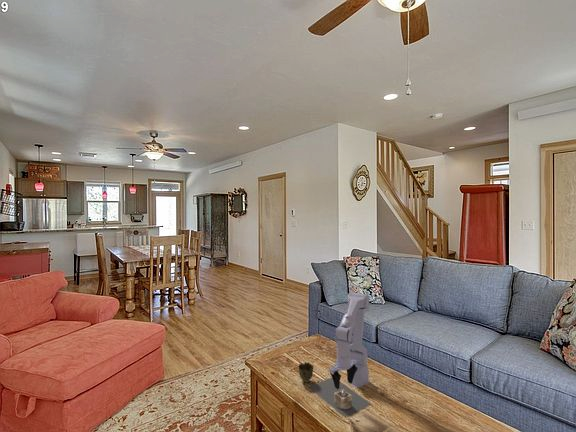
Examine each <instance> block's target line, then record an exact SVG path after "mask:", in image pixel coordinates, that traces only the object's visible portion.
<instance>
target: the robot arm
mask: <svg viewBox="0 0 576 432" xmlns="http://www.w3.org/2000/svg"><path fill="white" fill-rule="evenodd" d="M347 305H348V308H347V312H346V313H345V314H344V315H342V319H341V321H340V324H339V326H337V327H336V328H335V331H334V339H335V344H336V363H335V364H334V365H332V366H331V367H329V368H328V369H329V371H328V372H329V374H330V376H331V378H333V381H334V385H335V388H337V389H339V386H340V382H341V377H342V375H341V374H340V371H346V377H347V378H346V379H345V382H347V383H348V384H349V385H351V386H353V387H354V388H356V389H358V388H360V387H363V386H366V385H367V384H369V383H370V380H369V374H370V372H369V370H370V369H369V365H368V358H369V357H368V350H367V348H366V347H365V346H364V345H363V337H364V336H363V335H364V322H365V314H366V312H367V311H369V309H370V296H369V294H367V293H366V294H365V293H359V292H358V293H356V292H351V291H350V292H349V293H348V294H347ZM351 341H352V343H351Z"/></svg>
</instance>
